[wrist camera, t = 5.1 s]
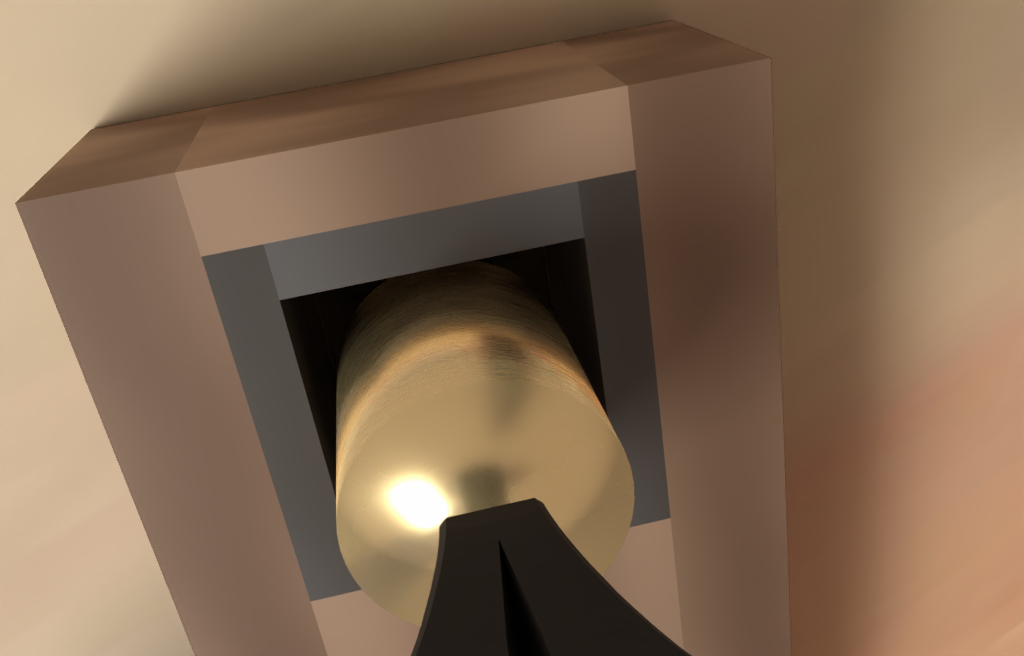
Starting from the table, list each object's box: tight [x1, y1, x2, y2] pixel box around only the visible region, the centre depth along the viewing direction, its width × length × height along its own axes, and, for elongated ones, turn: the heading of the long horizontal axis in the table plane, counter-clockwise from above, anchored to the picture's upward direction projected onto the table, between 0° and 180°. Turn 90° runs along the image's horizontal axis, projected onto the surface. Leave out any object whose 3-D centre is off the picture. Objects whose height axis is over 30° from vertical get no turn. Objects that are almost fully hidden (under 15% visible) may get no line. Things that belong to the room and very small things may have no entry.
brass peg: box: [336, 260, 635, 627], centre depth 16 cm, size 4×4×5 cm
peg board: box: [15, 20, 791, 656], centre depth 22 cm, size 12×22×5 cm, turn 9°
